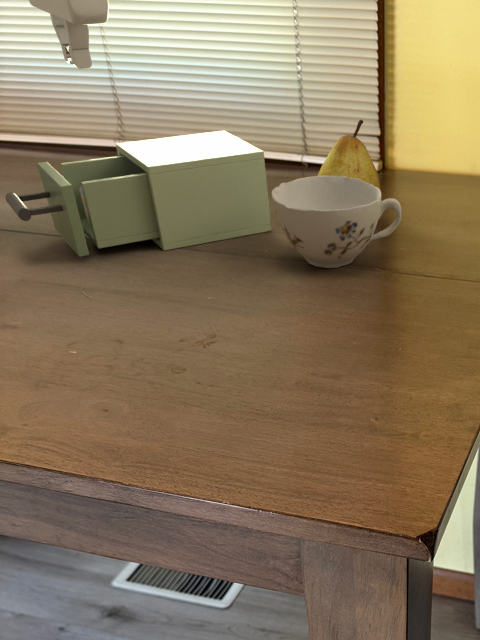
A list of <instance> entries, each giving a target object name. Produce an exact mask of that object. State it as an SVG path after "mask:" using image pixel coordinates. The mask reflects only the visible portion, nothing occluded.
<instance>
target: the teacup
mask: <svg viewBox="0 0 480 640" xmlns="http://www.w3.org/2000/svg"><path fill="white" fill-rule="evenodd" d="M271 198H272V201H273V204H274V209H275V213H276V216H277V219H278V222H279V225H280V226H281V230H282V231H283V233H284V235H285V237H286V239H287V240H288V241H289V243H290V244H291V246H292V247H293V248H294V249H295V250H296V251H297V252H298V253H299V254H300V255H301V256H302V257H303V258H304V260H305V261H306V262H307V263H308V264H309V265H311V266H314V267H317V268H323V269H324V268H325V269H336V268H340V267H344V266H347V265H349V264H351V263H353V261H354V260H355V258H356V257H357V256H359V255H360V254H361V252H363V250H364V249H365V248H366V247H367V245H368V244H369V243H370V242H373V241H378V240H379V239H383V238H385V237H388V236H390V235H392V233H393V232H394V231H395V230H396V229H398V227H399V225H400V223H401V222H402V205H401V203H400V202H399V201H398V200H397V199H396V198H394V197H393V198H392V197H389V198H386V199H383V200H382V191H381V188H380V189H379V188H377V187H374V186H373V185H372V184H369V183H367V182H364V181H362V180H360V179H358V178H348V177H346V176H326V175H325V176H318V175H313V176H307V177H300V178H299V177H298V178H296V179H293V180H290V181H288V182H281V183H280V184H279V185H278V186H275V187H274V188H273V189H272V190H271ZM388 209H391V210H393V211H394V213H395V220H394V221H393V222H392V223H391V224H390V225H389V226H387V227H386V228H384V229H383V230H379V231H378V232H375V231H376V228H377V225H378V222H379V219H381V217H382V216H383V213H384V212H385V211H386V210H388Z"/></svg>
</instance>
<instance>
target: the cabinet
mask: <svg viewBox="0 0 480 640" xmlns="http://www.w3.org/2000/svg"><path fill="white" fill-rule="evenodd" d="M115 148H116V153H117V156H121V155H124V156H125V157H127V158H128V159H130V160H131V161H132V162H134V163H135V164H136V165H138V166H139V167H140V168H142V169H143V170H144V171H146V172H147V173H148V179H149V184H150V189H151V194H152V199H153V204H154V210H155V215H156V220H157V225H158V230H159V235H160V238H154V239H151V240H152V241H153V242H154V243H155V244H156V245H157V246H158V247H159V248H160V249H162V250H163V251H164V252H165V251H170V250H175V249H181V248H187V247H191V246H196V245H197V246H198V245H201V244H207V243H212V242H219V241H223V240H229V239H234V238H240V237H245V236H250V235H251V236H252V235H255V234H260V233H261V234H262V233H266V232H271V231H272V221H271V212H270V211H271V210H270V203H269V202H270V201H269V192H268V191H269V190H268V181H267V172H266V171H267V170H266V161H265V151H264V150H262V149H260V148H258V147H257V146H254V145H252V144H251V143H249V142H247V141H245V140H243V139H241V138H240V137H238V136H235V135H233V134H231V133H230V132H228V131H226V130H217V131H208V132H199V133H193V134H192V133H191V134H185V135H176V136H175V135H174V136H168V137H167V136H166V137H160V138H151V139H143V140H142V139H141V140H135V141H126V142H118V143H115Z"/></svg>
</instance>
